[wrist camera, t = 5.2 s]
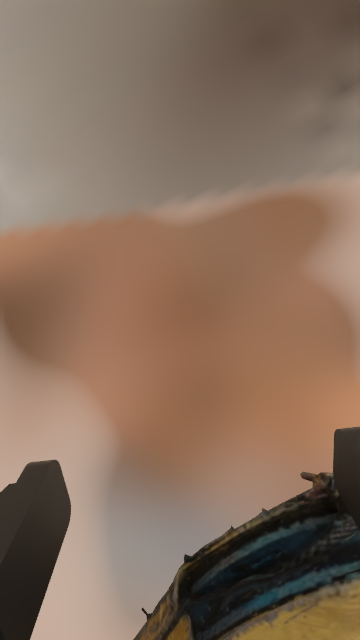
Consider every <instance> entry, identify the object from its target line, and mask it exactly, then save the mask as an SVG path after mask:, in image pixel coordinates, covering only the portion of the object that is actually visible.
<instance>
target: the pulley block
mask: <svg viewBox="0 0 360 640" xmlns="http://www.w3.org/2000/svg"><path fill="white" fill-rule="evenodd" d="M300 475H301V477H302V478H303V479H306V480H309V481H312V482H313V488H312V489H310V490H307V491H305V492H303V493H302V494H300V495H297V496H296V497H293V498H291V499H290V500H288V501H286V502H284V503H282V504H280V505H278V506H276V507H274V508H272V509H270V510H269V511H267V510H265V509H262V512H261V513H260V514H259V515H258V516H256V517H255V518H253V519H252V520H250V521H248V522H246V523H245V524H243V525H241V526H240V527H238V528H236V529H234V528H233V527H232V526H231V528H230V529H229V530H228V531H227V532H226V533H225V534H223V535H222V536H221V537H219V538H217V539H215V540H214V541H212V542H210V543H209V544H207V545H205V546H204V547H203V548H201V549H200V550H199V551H198V552H196V553H195V554H194V555H193V556H188V555H186V554H185V556H184V564H183V565H182V566H181V567H180V568H179V570H178V572H177V574H176V576H175V578H174V581H173V583H172V584H171V586H170V587H169V590H168V591H167V592H166V594H165V595H164V596H163V597H162V599H161V600H160V601H159V603H158V604H157V606H156V608H155V610H154V611H153V613H151V614H147V612H146V611H145V610H144V609H143V608H142V611H143V612H144V613H145V614H146V615H147V622H146V623H145V625H144V626H143V628H142V629H141V630H140V632H139V633H138V634H137V636H136V637H135V638H134V640H360V531H359V529H358V527H357V525H356V524H355V522H354V520H353V519H352V517H351V515H350V513H349V512H348V510H347V508H346V506H345V505H344V503H343V501H342V499H341V498H340V496H339V494H338V491H337V488H336V485H335V481H334V476H333V473H320V474H318V475H316V474H311V473H306V472H302V473H301V474H300Z"/></svg>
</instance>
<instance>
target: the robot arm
mask: <svg viewBox="0 0 360 640" xmlns="http://www.w3.org/2000/svg"><path fill="white" fill-rule="evenodd" d="M333 476H334V481H335V485H336V488H337V491H338V494H339V496H340V498H341V499H342V501H343V503H344V505H345V506H346V508H347V510H348V512H349V513H350V515H351V517H352V519H353V520H354V522H355V524H356V525H357V527H358V529H359V531H360V427H354V428H345V429H337V430H336V431H335V434H334V460H333ZM70 515H71V504H70V498H69V495H68V491H67V488H66V484H65V481H64V477H63V475H62V470H61V467H60V464H59V462H58V461H57V460H49V461H40V462H31V463H29V464H27V465H26V467H25V469H24V470H23V472H22V474H21V475H20V477H19V479H18V480H17V482H16V483H14V484H9V485H8V486H7V487H6V488H5V489H4V490H3V491H2V492H0V640H30V637H31V635H32V632H33V629H34V626H35V623H36V620H37V617H38V614H39V611H40V608H41V605H42V602H43V599H44V596H45V593H46V590H47V587H48V584H49V582H50V579H51V576H52V573H53V570H54V566H55V564H56V561H57V558H58V555H59V552H60V549H61V546H62V543H63V540H64V537H65V534H66V531H67V528H68V525H69V521H70Z"/></svg>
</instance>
